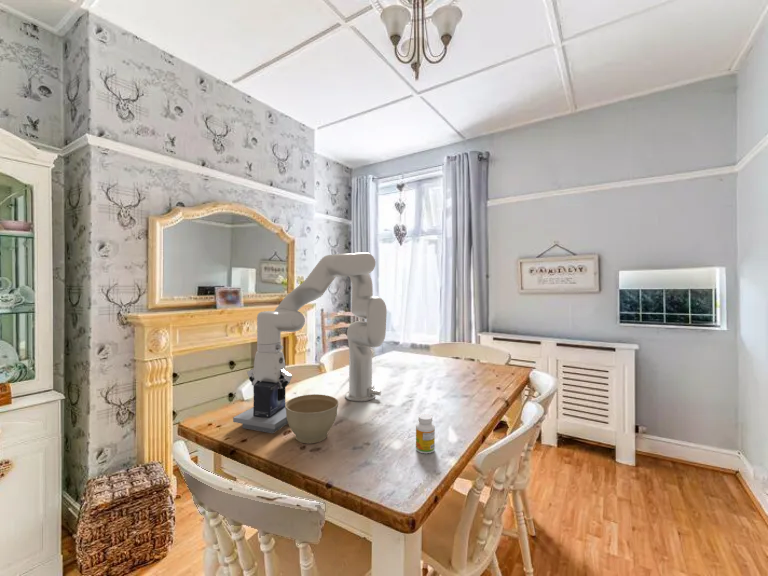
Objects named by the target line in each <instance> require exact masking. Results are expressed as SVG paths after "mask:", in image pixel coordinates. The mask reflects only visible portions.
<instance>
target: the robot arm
mask: <svg viewBox="0 0 768 576" xmlns="http://www.w3.org/2000/svg"><path fill="white" fill-rule="evenodd" d="M375 267H376V259H375V257H374V255H372V253H369V252H366V251H365V252H355V253H353V252H351V253H337V254H327V255H325V256H323V257H322V258H321V259H320V260H319V261H318V263H317V264H316V265H315V266H314V268H313V269H312V270H311V271H310V273H309V274H308V275H307V277H306V278H305V279H304V281H302V283H300V284H299V286H297V287H295V288H294V289H293V290H291V292H289V293H288V294H287V295H286V296H285V297H283V299H282V300H281V301H280V302H279V304H278V305H277V307H276V308H275V310H268V311H267V310H266V311H265V310H264V311H260V312H258V314H257V317H256V322H257V323H256V326H257V327H256V331H257V332H256V335H257V336H256V341H257V343H256V344H257V346H256V347H257V350H256V352H255V356H254V361H253V368H252V369H250V370H248V371H246V373H247V376H248V379H249V381H250V382H251V386H252V387H253V389H252V390H253V392H254V385H255V384H257V383H259V382H261V381H263V382H271V383H276V384H277V385H278V387H279V389H278V401H281V400H282V399H284V398H285V399H286V387H287V386H288V385H289V384H290V382H291V380H292V378H293V375H292V374H291V373H289V372H288V371H286V362H285V361H286V360H285V355H284V352H283V351H282V350H283V349H284V346H283V345H282V344H281V342H282V341H281V340H282V339H281V333H282V332H286V333H287V332H290V333H291V332H292V333H294V332H298V331H300V330H301V329H303V327H304V326H305V323H306V317H305V316H304V314H303V313H302V312H300V309H301V308H302V307H304V306H305V305H307V304H309V303H310V302H314V301H317V300H318V299H319V298H321V297H323V295H324V294H325V292H326V291H327V290H328V288H329V287H330V286H331V284H332V283H333V281H334V280H335V279H336V277H337V278H338V277H339V278H342V277H343V278H346V277H349V279H350V282H351V287H352V288H351V289H352V291H351V313H352V315H353V316H355V318H359V319H365V320H366V321H362V320H357V321H354V322H352V323H350V324H349V326H348V327H347V330H346V337H347V342H348V352H349V353H348V354H349V355H348V357H349V359H348V361H349V362H348V366H349V368H348V370H349V371H348V373H349V374H348V375H349V377H348V385H349V386H348V391H347V392H346V393H345V399H346V400H348V401H352V402H368V401H371V400H374V399H375V398H376V396H378V397H379V396H380V397H381V395H382V391H381V389H379V388H375V384H373V353H372V352H373V351H372V348H378V347H381V346H382V345H383V343H384V342H385V338H386V334H387V333H386V332H387V331H386V330H387V313H388V312H387V305H386V303H385V300H384V299H382V298H381V297H379V296H375V295H373V294H374V291H373V290H374V289H373V279H372V278H371V275H370V273H372V272H373V271H374V270H375ZM285 378H286V380H285V381H284V379H285ZM280 382H281V383H280Z"/></svg>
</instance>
